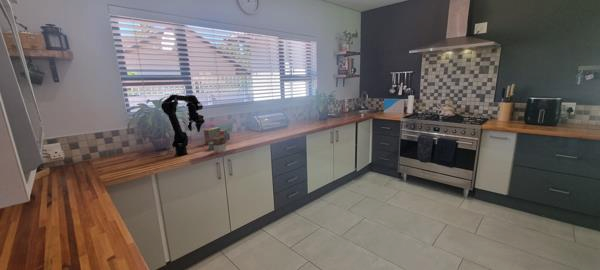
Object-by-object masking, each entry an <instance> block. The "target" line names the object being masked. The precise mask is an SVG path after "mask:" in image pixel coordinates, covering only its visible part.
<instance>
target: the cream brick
mask: <svg viewBox="0 0 600 270" xmlns="http://www.w3.org/2000/svg"><path fill="white" fill-rule="evenodd" d="M226 143H227V142H226ZM226 143H225V144H222V145H219V146H216V145H214V150H213V151H214V153H220V152H223V151H226V150H227V145H226ZM225 149H226V150H225Z"/></svg>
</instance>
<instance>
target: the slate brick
mask: <svg viewBox="0 0 600 270" xmlns="http://www.w3.org/2000/svg"><path fill="white" fill-rule="evenodd" d="M207 145H208V150H210V151H214V144H213V142H211V143H208V144H207Z"/></svg>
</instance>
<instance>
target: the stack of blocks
mask: <svg viewBox="0 0 600 270" xmlns="http://www.w3.org/2000/svg"><path fill="white" fill-rule="evenodd" d="M221 129H222V128H221V127H220V126H219V127H217V126H216V127H211V128H206V129H203V137H204V144H205V145H208V143H211V142H213V138H217V137H221V136H223V137H226V141H228V140H230V139H231V138H230V137H231V135H230V132H229V133H227V131H226V130H221Z"/></svg>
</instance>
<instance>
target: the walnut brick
mask: <svg viewBox="0 0 600 270" xmlns="http://www.w3.org/2000/svg"><path fill="white" fill-rule="evenodd" d="M225 143H227V140H226V137H223V136H221V137H217V138H213V144H214V145H216V146H219V145H222V144H225Z"/></svg>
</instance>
